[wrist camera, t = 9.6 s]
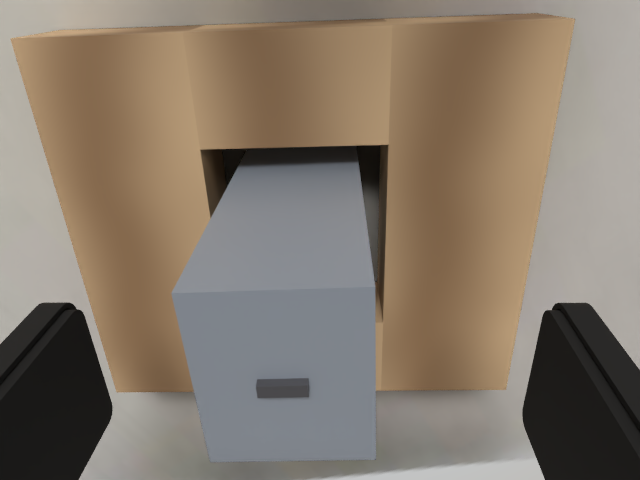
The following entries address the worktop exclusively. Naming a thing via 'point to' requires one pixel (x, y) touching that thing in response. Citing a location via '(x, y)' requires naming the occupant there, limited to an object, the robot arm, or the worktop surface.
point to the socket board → (308, 131)
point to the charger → (284, 312)
